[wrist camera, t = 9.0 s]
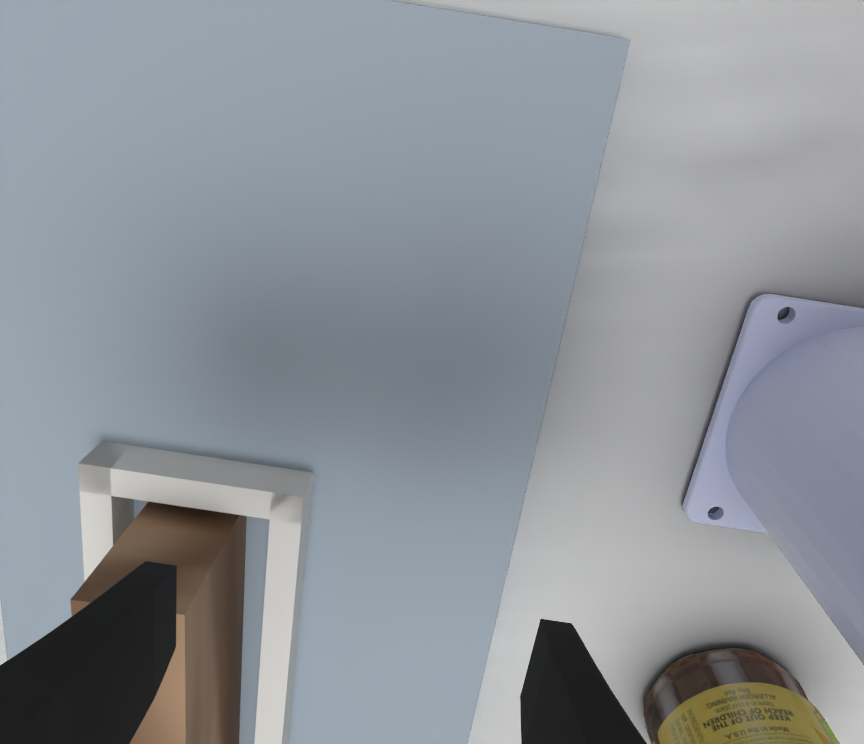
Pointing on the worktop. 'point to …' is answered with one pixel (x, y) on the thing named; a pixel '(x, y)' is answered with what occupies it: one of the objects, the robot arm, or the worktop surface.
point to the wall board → (292, 321)
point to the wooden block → (189, 618)
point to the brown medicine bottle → (731, 703)
